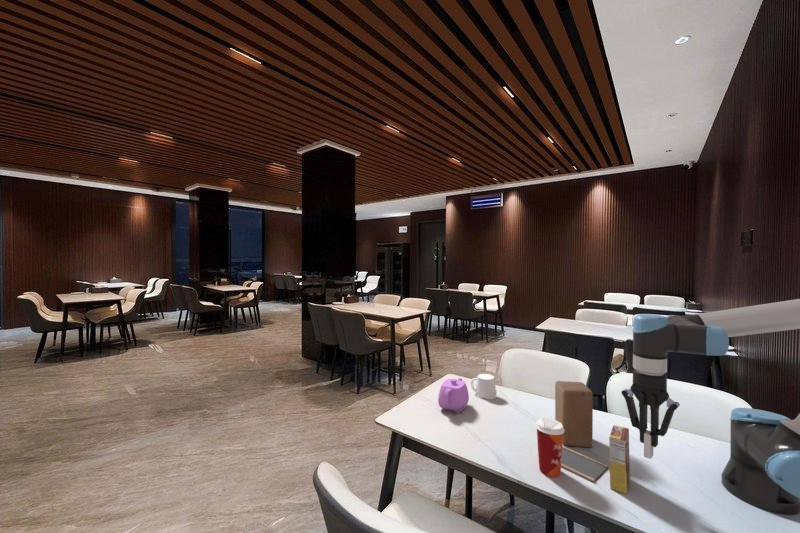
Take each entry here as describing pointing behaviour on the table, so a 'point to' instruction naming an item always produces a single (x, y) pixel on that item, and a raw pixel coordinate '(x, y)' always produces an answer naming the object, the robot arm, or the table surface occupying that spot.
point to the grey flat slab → (582, 465)
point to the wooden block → (574, 412)
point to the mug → (485, 386)
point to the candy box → (619, 459)
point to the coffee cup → (550, 446)
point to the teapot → (453, 395)
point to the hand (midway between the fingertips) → (648, 455)
